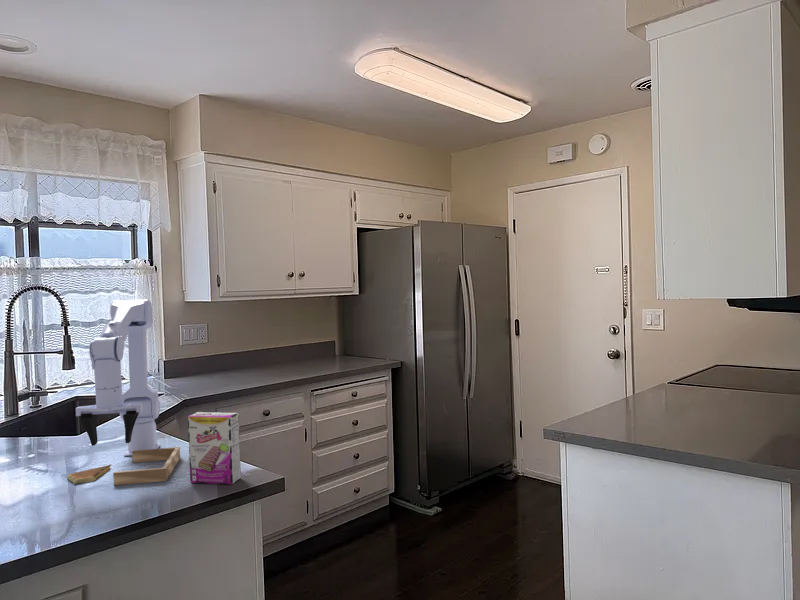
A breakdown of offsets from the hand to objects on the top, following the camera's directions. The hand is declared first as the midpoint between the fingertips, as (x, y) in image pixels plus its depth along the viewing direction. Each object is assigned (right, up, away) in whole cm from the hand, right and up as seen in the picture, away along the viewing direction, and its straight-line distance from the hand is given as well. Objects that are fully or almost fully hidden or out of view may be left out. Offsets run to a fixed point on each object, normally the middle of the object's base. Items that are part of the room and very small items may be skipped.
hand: (111, 443), depth 143 cm
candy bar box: (+25, -10, +1) cm, 27 cm away
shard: (-10, -11, +7) cm, 16 cm away
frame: (+5, -10, +10) cm, 15 cm away
